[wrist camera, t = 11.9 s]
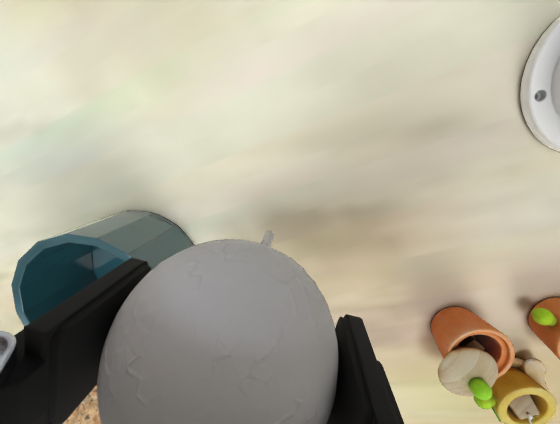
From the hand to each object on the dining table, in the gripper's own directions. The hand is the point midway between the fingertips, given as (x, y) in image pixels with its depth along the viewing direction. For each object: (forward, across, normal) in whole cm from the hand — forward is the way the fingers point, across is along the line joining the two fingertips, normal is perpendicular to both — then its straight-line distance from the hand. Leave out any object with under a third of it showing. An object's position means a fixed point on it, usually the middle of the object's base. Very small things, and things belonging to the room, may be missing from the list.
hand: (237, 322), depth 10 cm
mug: (+17, +12, +12) cm, 24 cm away
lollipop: (+10, 0, 0) cm, 10 cm away
